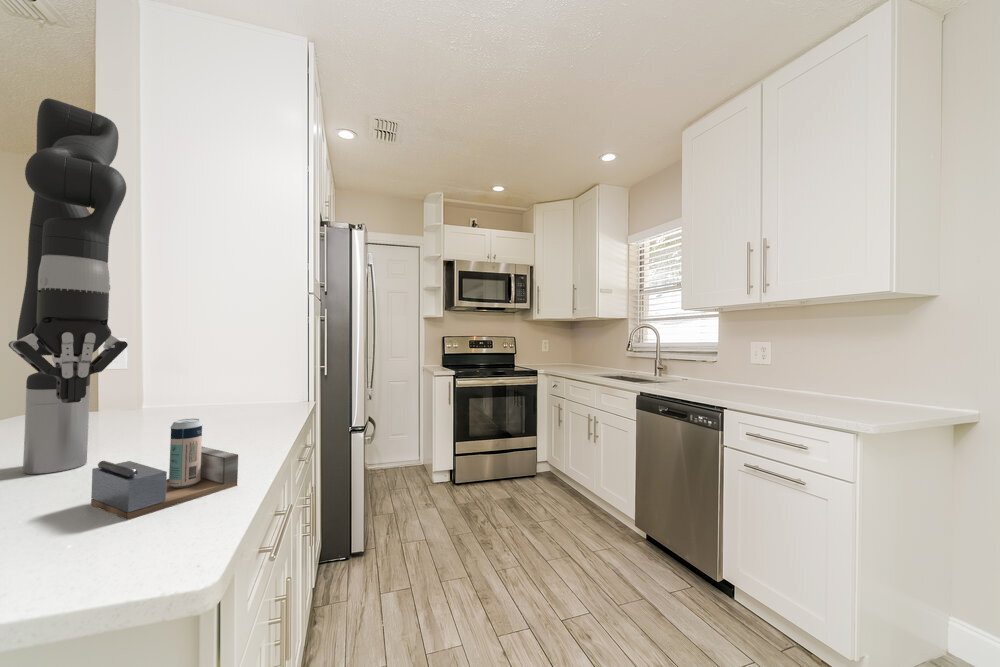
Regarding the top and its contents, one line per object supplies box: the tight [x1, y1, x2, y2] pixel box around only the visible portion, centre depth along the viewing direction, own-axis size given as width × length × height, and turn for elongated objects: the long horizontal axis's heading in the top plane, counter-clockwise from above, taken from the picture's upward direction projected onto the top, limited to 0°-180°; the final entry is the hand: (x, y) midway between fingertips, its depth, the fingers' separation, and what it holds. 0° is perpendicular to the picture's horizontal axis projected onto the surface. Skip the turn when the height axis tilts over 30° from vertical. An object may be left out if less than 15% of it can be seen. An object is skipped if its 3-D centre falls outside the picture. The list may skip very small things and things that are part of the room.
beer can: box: [168, 418, 203, 488], centre depth 76 cm, size 5×5×12 cm
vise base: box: [90, 445, 239, 521], centre depth 73 cm, size 12×17×6 cm
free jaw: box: [90, 460, 168, 513], centre depth 68 cm, size 12×5×6 cm, turn 65°
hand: (70, 402), depth 61 cm, fingers closed
